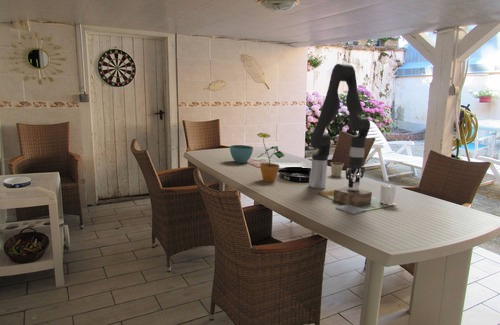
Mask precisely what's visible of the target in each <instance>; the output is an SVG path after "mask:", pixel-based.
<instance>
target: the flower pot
mask: <svg viewBox="0 0 500 325" xmlns="http://www.w3.org/2000/svg"><path fill="white" fill-rule="evenodd" d="M344 165H345V163H343V162H337V161H335V162H333V161H332V162H330V172H331V176H333V177H341V176H342V171H343V167H344Z"/></svg>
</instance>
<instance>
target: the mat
mask: <svg viewBox="0 0 500 325" xmlns="http://www.w3.org/2000/svg"><path fill="white" fill-rule="evenodd" d="M335 210H338V211H341V212H344V213H347V214H350V215H354V216H355V215H357V214H360V213H361V214H362V213H366V212H367V210H366V209H365V208H361V207H360V206H357V207H356V206H353V205H349V204H343V205H338V206H335ZM365 211H366V212H365Z"/></svg>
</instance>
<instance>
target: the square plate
mask: <svg viewBox="0 0 500 325" xmlns="http://www.w3.org/2000/svg"><path fill="white" fill-rule="evenodd" d="M267 163H269V159H268V160H267ZM270 163H272V164H277V165H279V169H278V172H280V171H279V170H280V169H283V168H285V167H302V168H309V167H308V166H307V164H306V163H304V162H303V161H302V160H292V159H291V160H289V159H286V160H285V159H283V160H282V159H277V160H276V159H273V160H272V159H271V160H270Z"/></svg>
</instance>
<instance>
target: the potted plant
mask: <svg viewBox="0 0 500 325" xmlns="http://www.w3.org/2000/svg"><path fill="white" fill-rule="evenodd" d="M256 135H257V136H258V137H259V138H262V140H263V147H264V150H265V151H264V152H263V153H261V154H260V155H259V156H257V157H256V158H257V159H258V158H260V157H262V156H263V155H264V154H266V155H267V158H268V160H269V162H266V163H260V164H259V167H260V172H261V176H262V180H263V181H264V182H267V183H270V182H272V183H273V182H275V181H276V178H277V174H278V172H279V171H278V169H279V165H277V164H272V163H270V159H271V157H272V156H273V155H275V156H276V157H277V158H278V159H281V158H284V157H285V156H286V155H285V154H284V153H283V152H282V151H281V150H279V147H278V145H276V146H271V147H270V148H266V144H265V139H268V138H271V135H269V134H268V133H263V132H260V133H257V134H256ZM273 149H274V151H273V153H272V154H271V155H270V156H269V152H268V151H270V150H273ZM275 151H276V152H275Z"/></svg>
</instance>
